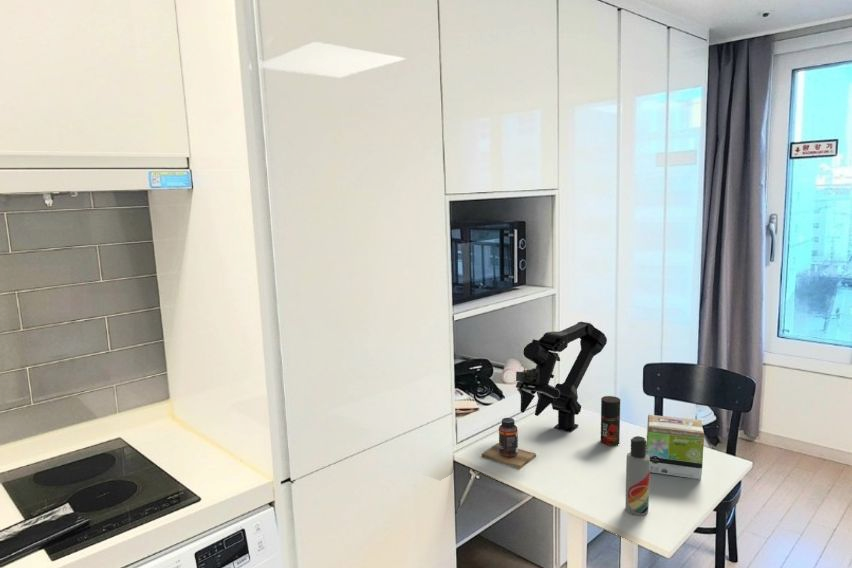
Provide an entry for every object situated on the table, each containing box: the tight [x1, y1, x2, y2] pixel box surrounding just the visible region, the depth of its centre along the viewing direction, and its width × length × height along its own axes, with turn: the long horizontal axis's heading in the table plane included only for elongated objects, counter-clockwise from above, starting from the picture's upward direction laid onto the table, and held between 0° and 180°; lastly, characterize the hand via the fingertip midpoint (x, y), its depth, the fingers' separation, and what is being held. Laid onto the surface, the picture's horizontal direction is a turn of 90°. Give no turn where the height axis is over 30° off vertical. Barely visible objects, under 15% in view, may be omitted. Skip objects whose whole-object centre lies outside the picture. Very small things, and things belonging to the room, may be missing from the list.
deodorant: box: [600, 395, 621, 447], centre depth 191 cm, size 6×6×15 cm
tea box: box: [646, 414, 705, 481], centre depth 172 cm, size 15×10×15 cm, turn 70°
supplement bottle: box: [498, 417, 519, 457], centre depth 183 cm, size 6×6×11 cm
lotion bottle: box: [625, 435, 651, 516], centre depth 150 cm, size 6×6×20 cm
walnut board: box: [480, 442, 537, 470], centre depth 184 cm, size 10×14×1 cm
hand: (528, 413), depth 189 cm, fingers open, 9 cm apart
